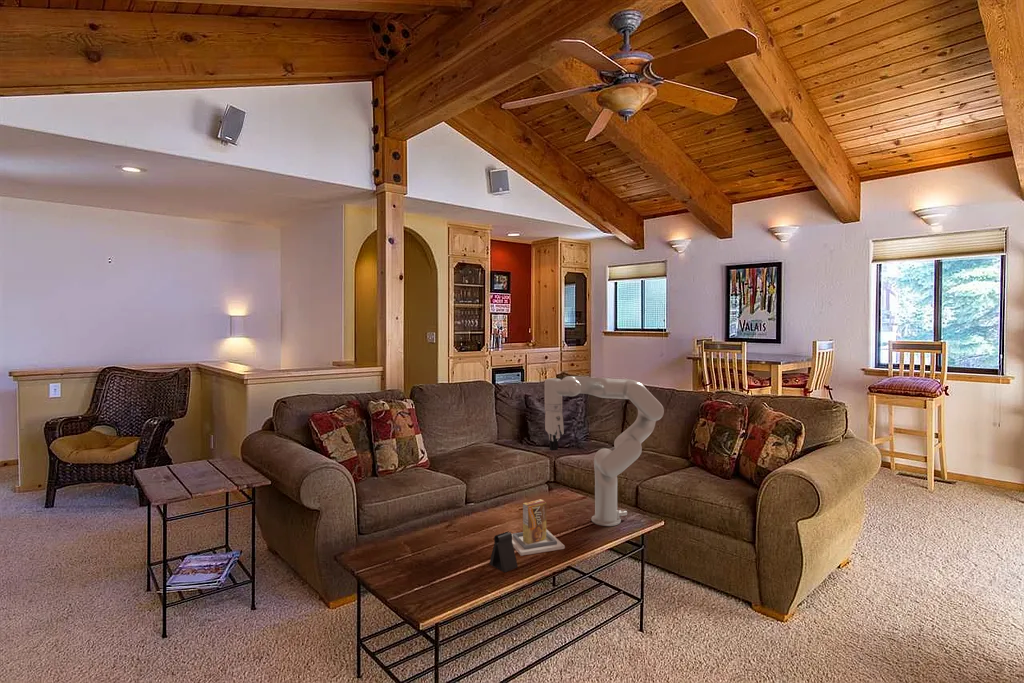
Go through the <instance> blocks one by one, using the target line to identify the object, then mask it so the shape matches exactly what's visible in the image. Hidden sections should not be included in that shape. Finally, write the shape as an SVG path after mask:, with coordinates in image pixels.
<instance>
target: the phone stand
mask: <svg viewBox="0 0 1024 683" xmlns="http://www.w3.org/2000/svg"><path fill="white" fill-rule="evenodd" d="M512 534H513V533H512V532H511V531H506V532H505V531H504V532H502V533H499V534H496V535H494V537H493V540H494V543H493V548H492V550H491V555H490V558H489V563H488V564H489V566H492V567H493V568H495V569H497V570H499V571H501V572H503V573H507V572H510V571H512V570H515V569H517V568H518V567H519V566H518V562H517V557H516V552H515V548H514V547H513V543H512Z"/></svg>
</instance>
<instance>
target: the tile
mask: <svg viewBox="0 0 1024 683" xmlns="http://www.w3.org/2000/svg"><path fill="white" fill-rule="evenodd" d="M511 534H512V543H513V547H514V550H515V551H517V553H518V554H519V555H520V556H521V557H522V556H526V555H527V556H528V555H534V554H540V553H541V554H542V553H546V552H552V551H559V550H564V549H565V548H566V546H565V544H563V543H562V542H561V541H560V539H558V538H557V537H555V535H553V534H552V533H551V531H549V530H548V529H547V528H546V539H544V540H541V541H537V542H534V543H530V544H528V543H526V542H524V541H523V531H520V532H514V533H511Z"/></svg>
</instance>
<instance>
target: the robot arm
mask: <svg viewBox="0 0 1024 683" xmlns="http://www.w3.org/2000/svg"><path fill="white" fill-rule="evenodd" d="M579 394H582V395H583V394H584V395H585V394H586V395H590V396H595V397H597V398H601V399H619V400H620V399H621V400H628V401H630V402H631V403H632V404H633V405H634V406H635V407H636V409H637V415H636V416H637V417H636V419H635V421H634V422H633V423H632V424H631V425H630V426H628V427H627V428H626V429H625V430H624V431H623V432H621V433H620V434H619V435H618V436H616V438H615V439H614V442H613V445H614V449H613V450H612V449H609V448H600V449H598V451H596V453H595V455H594V458H593V468H594V469H593V470H594V484H595V485H594V510H595V511H594V515H592V516H591V522H592V523H593V524H595V525H597V526H601V527H614V526H618V525H619V524H621V523H622V518H621V517H622V516H627V515H628V511H627V510H622V509H618V476H619V475H620V474H622V473H623V472H624V471H625V470H626V469H627V468H628V467H629V468H630V466H631V465H632V464H633V463H634V462H636V461H637V460H638V459H639V457H640V456H641V455H642V452H643V451H642V450H643V448H642V443H643V442H644V441H645V440H647V439H648V438H649V436H650V435H651V434H652V433H653V432H654V430H655V427H656V422H657V421H660V420H661V419H662V418H663V416H664V414H665V408H664V406H663V405H662V403H661V402H660V401H659V400H658V399H657V398H656V397H655V396H654V395H653V394H652V392H650V391H649V390H648V389H647V387H645V385H644V384H643V383H641V382H639V381H637V380H634V379H630V378H628V379H627V378H609V377H607V378H606V377H593V376H590V377H589V376H575V375H570V376H569V375H567V376H565V377H563V378H562V379H560V378H556V377H552V378H551V377H550V378H547V379H545V380H544V413H545V415H544V430H545V432H547V435H548V440H549V450H550V451H551V452H552V451H558V449H559V439H560V438H561V435H562V436H563V435H564V434H565V432H564V431H565V430H564V418H563V396H565V397H575V396H578V395H579Z"/></svg>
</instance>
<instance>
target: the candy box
mask: <svg viewBox="0 0 1024 683" xmlns="http://www.w3.org/2000/svg"><path fill="white" fill-rule="evenodd" d="M546 529H547V501H545V500H544V499H541V498H539V499H536V500H531V501H528V502H523V503H522V532H523V541H524V542H526V543H528V544H530V543H534V542H537V541H541V540H544V539H546Z"/></svg>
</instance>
